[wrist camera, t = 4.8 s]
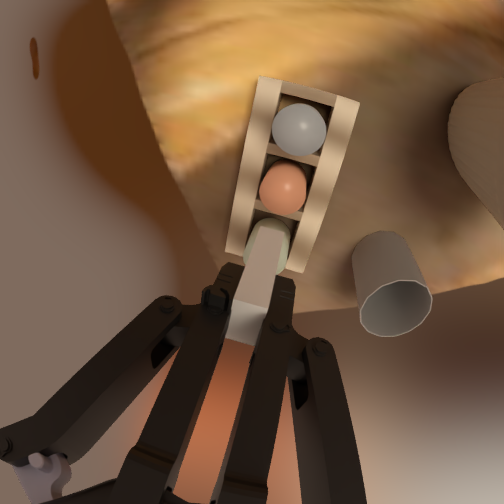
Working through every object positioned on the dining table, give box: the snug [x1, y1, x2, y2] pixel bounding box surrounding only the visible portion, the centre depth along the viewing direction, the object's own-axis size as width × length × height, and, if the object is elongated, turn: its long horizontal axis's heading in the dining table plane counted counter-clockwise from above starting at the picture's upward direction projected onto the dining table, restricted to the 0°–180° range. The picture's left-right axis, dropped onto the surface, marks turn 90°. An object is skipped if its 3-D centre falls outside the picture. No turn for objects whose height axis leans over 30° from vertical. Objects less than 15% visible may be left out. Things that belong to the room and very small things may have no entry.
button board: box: [225, 76, 360, 273], centre depth 29 cm, size 21×10×3 cm, turn 169°
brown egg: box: [259, 159, 307, 215], centre depth 28 cm, size 4×4×5 cm
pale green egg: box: [243, 218, 290, 275], centre depth 30 cm, size 4×4×5 cm
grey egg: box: [272, 103, 326, 156], centre depth 22 cm, size 4×4×5 cm
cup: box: [351, 231, 432, 337], centre depth 30 cm, size 8×8×10 cm
